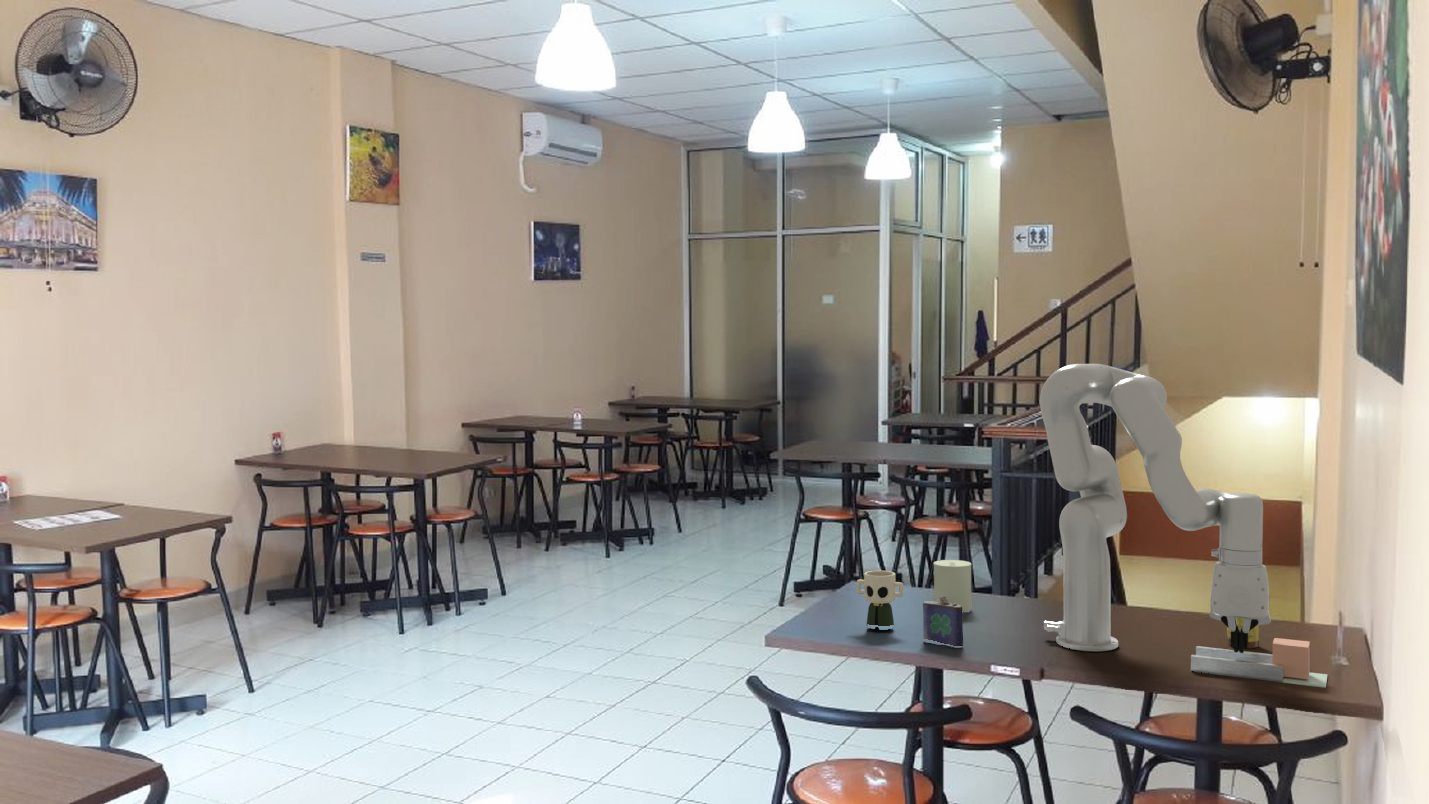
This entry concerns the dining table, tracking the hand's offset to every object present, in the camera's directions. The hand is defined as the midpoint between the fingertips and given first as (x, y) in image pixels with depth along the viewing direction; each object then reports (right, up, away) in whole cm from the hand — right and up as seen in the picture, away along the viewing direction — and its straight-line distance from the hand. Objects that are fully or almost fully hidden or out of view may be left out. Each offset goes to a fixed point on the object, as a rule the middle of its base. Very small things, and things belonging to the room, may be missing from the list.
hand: (1239, 650), depth 213 cm
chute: (0, -4, 0) cm, 4 cm away
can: (-44, -3, +56) cm, 71 cm away
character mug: (-64, -4, +37) cm, 74 cm away
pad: (+10, -4, -6) cm, 12 cm away
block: (+8, -3, -5) cm, 10 cm away
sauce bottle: (+10, -3, +19) cm, 21 cm away
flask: (-53, -4, +23) cm, 58 cm away
